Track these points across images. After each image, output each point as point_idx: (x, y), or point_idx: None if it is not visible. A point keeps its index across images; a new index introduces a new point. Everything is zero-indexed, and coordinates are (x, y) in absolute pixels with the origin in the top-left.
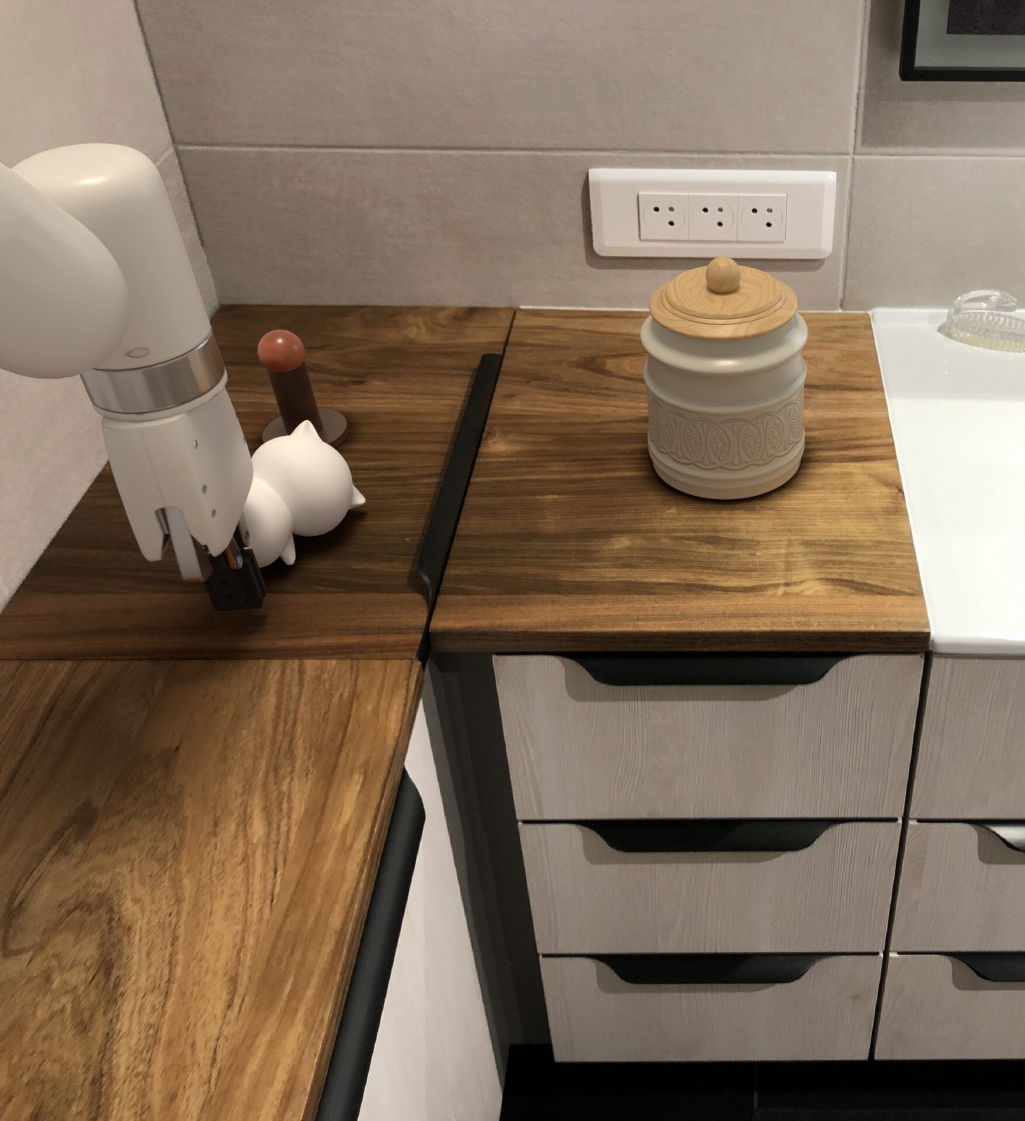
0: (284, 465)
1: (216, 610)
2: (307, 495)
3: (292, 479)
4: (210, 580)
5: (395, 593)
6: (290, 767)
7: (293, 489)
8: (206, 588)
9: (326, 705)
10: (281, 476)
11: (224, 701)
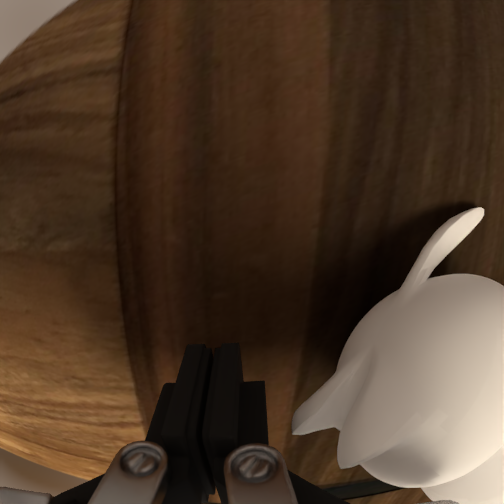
0: (489, 499)
1: (189, 344)
2: (429, 492)
3: (459, 498)
4: (147, 434)
5: None
6: (11, 412)
7: (445, 489)
8: (175, 384)
9: (81, 442)
10: (475, 488)
11: (53, 348)
